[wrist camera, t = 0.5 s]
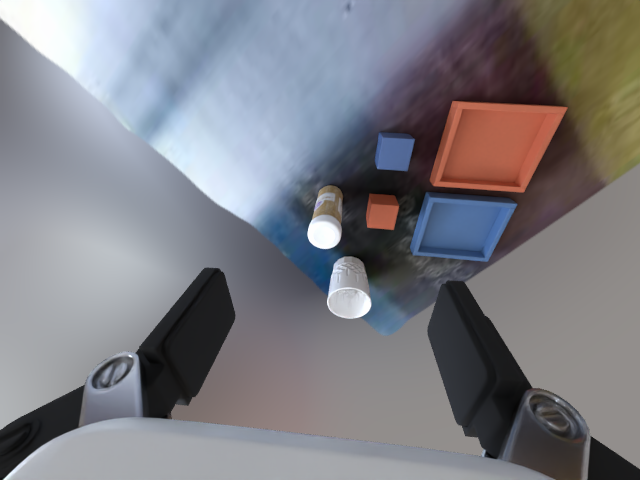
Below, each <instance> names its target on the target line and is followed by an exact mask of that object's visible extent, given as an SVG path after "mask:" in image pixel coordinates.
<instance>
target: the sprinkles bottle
mask: <svg viewBox="0 0 640 480" xmlns="http://www.w3.org/2000/svg"><path fill="white" fill-rule="evenodd" d="M342 200H343V195H342V192H341V191H340V189H339V188H338V187H336V186H325V187H323V188H322V189H321V190H320V191H319V194H318V199H317V202H316V206H315V209H314V215H313V219H312V221H311V223H310V225H309V229H308V238H309V240H310V242H311V243H312V244H313V245H314V246H316V247H318V248H322V249H329V248H332V247H334V246H336V245H337V244H338V242H339V241H340V238H341V231H342V228H341V218H342Z"/></svg>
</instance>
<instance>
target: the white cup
mask: <svg viewBox="0 0 640 480" xmlns="http://www.w3.org/2000/svg"><path fill="white" fill-rule="evenodd" d="M327 304H328V307H329V309H330V310H331V312H333V313H334V314H335V315H337V316H339V317H343V318H358V317H361V316H363V315H365V314H366V313H367V312H368V311H369V310H370V308H371V297H370V291H369V285H368V280H367V275H366V270H365V267H364V264H363V262H362V261H360V260H359V259H358V258H355V257H352V256H350V257H343V258H341V259H338V260H337V262H336V263H335V264H334V268H333V273H332V276H331V282H330V287H329V293H328V300H327Z"/></svg>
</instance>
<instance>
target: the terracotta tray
mask: <svg viewBox="0 0 640 480" xmlns="http://www.w3.org/2000/svg"><path fill="white" fill-rule="evenodd" d="M567 108H568V107H561V106H548V105H528V104H508V103H488V102H468V101H452V105H451V108H450V111H449V115H448V118H447V122H446V125H445V129H444V132H443V135H442V139H441V142H440V146H439V149H438V153H437V156H436V160H435V163H434V166H433V170H432V173H431V177H430V180H429V181H430V182H431V183H432V185H433V186H441V187H455V188H469V189H483V190H497V191H510V192H524V191H525V189H526V187H527V185H528V183H529V181H530V179H531V177H532V175H533V174H534V172H535V170H536V168H537V166H538V164H539V162H540V160H541V158H542V156H543V154H544V152H545V150H546V148H547V147H548V145H549V143H550V141H551V139H552V137H553V135H554V133H555V131H556V129H557V127H558V125H559V123H560V122H561V120H562V118H563V116H564V114H565V112H566V110H567Z"/></svg>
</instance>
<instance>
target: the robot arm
mask: <svg viewBox="0 0 640 480" xmlns="http://www.w3.org/2000/svg"><path fill="white" fill-rule="evenodd" d="M234 320H235V311H234V308H233V304H232V300H231V297H230V293H229V289H228V286H227V282H226V278H225V275H224V273H223V272H221V270H220V269H218V268H204V269H203V270H202V271H201V273H200V274H199V275H198V276H197V278H196V279H195V280H194V281H193V282H192V284H191V285H190V286H189V287H188V288H187V290H186V291H185V292H184V294H183V295H182V296H181V297H180V298H179V300H178V301H177V302H176V303H175V304H174V305H173V307H172V308H171V309H170V311H169V312H168V313H167V314H166V315H165V317H164V318H163V319H162V320H161V321H160V323H159V324H158V325H157V326H156V327H155V329H154V330H153V331H152V332H151V333H150V335H149V336H148V337H147V338H146V339H145V341H144V342H143V343H142V344H141V346H140V347H139V349H138V351H137V352H136V353H134V352H129V351H128V352H121V353H118V354H115V355H113V356H111V357H109V358H107V359H105V360H104V361H102V362H101V363H100V364H98V365H97V366H96V367H95V368H94V369H93V370H92V372H91V373H90V374H89V376H88V377H87V380H86V382H85V385H83V386H81V387H79V388H77V389H76V390H73V391H72V392H70V393H68V394H66V395H64V396H62V397H60V398H58V399H56V400H54V401H52V402H50V403H48V404H46V405H44V406H42V407H40V408H38V409H36V410H34V411H32V412H30V413H28V414H26V415H24V416H22V417H20V418H18V419H17V420H15V421H13V422H12V423H10V424H8V425H7V426H6V427H4V428H3V429H1V430H0V480H640V469H639V468H637V467H636V466H634V465H633V464H631V463H630V462H628V461H627V460H625V459H624V458H622V457H621V456H619V455H618V454H617V453H615V452H614V451H612V450H610V449H609V448H608V447H606V446H605V445H603V444H602V443H600V442H599V441H597V440H596V439H594V438H593V437H591V436H590V431H589V428H588V426H587V424H586V422H585V420H584V419H583V417H582V416H581V415H580V414H579V412H578V411H577V410H576V409H575V408H573V406H571V405H570V404H569V403H568V402H567V401H565V400H564V399H562V398H561V397H559V396H557V395H556V394H554V393H552V392H549V391H547V390H543V389H540V388H532V386H531V385H530V383H529V382H528V380H527V378H526V377H525V375H524V374H523V372H522V370H521V369H520V367H519V365H518V364H517V362H516V360H515V359H514V357H513V356H512V354H511V352H510V351H509V349H508V348H507V346H506V345H505V343H504V341H503V340H502V338H501V336H500V335H499V333H498V331H497V330H496V328H495V327H494V325H493V323H492V322H491V320H490V319H489V318H488V317H486V316H485V315H484V314H483V312H482V310H481V309H480V307H479V305H478V304H477V302H476V300H475V299H474V297H473V295H472V294H471V292H470V291H469V289H468V287H467V286H466V284H465V283H464V282H463V281H447V282H446V284H442V285H441V287H440V291H439V294H438V297H437V300H436V303H435V306H434V310H433V313H432V317H431V319H430V322H429V326H428V337H429V340H430V343H431V346H432V349H433V352H434V355H435V358H436V362H437V364H438V367H439V371H440V374H441V377H442V380H443V383H444V386H445V389H446V392H447V396H448V399H449V402H450V405H451V408H452V411H453V414H454V417H455V420H456V422H457V424H458V425H461V426H462V428H463V431H464V434H465V436H469V437H478V439H479V441H480V444H481V446H482V448H483V452H482V455H481V456H476V455H470V454H463V453H455V452H448V451H441V450H434V449H426V448H419V447H410V446H403V445H394V444H386V443H377V442H369V441H361V440H353V439H344V438H336V437H328V436H327V437H326V436H319V435H311V434H302V433H293V432H284V431H276V430H267V429H258V428H249V427H239V426H231V425H222V424H213V423H204V422H194V421H184V420H183V421H182V420H173V419H172V415H171V411H172V409H173V407H174V406H175V404H178V405H187V406H188V405H189V403H190V401H191V399H192V397H195V396H196V395H197V394H198V392H199V391H200V389H201V387H202V385H203V383H204V380H205V378H206V377H207V375H208V372H209V371H210V369H211V367H212V365H213V363H214V361H215V359H216V356H217V355H218V353H219V351H220V349H221V347H222V344H223V343H224V341H225V339H226V337H227V335H228V333H229V331H230V329H231V327H232V325H233V323H234Z"/></svg>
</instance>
